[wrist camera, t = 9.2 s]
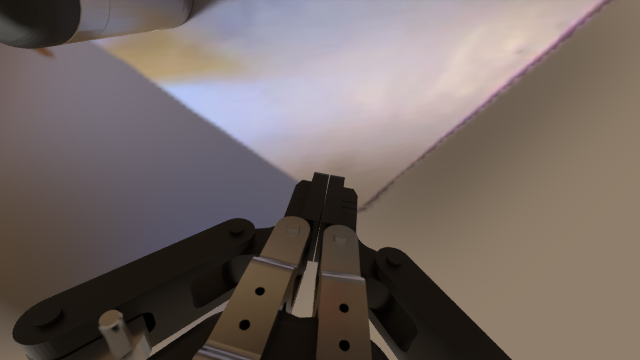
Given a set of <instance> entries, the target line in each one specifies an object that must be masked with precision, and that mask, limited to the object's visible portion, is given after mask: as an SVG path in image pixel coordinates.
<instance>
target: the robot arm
mask: <svg viewBox="0 0 640 360" xmlns="http://www.w3.org/2000/svg"><path fill="white" fill-rule="evenodd" d="M192 4H193V0H0V42H1V43H3V44H6V45H9V46H13V47H18V48H25V49H35V48H44V47H51V46H57V45H63V44H70V43H77V42H84V41H89V40H96V39H102V38H109V37H116V36H122V35H129V34H136V33H142V32H149V31H156V30H163V29H169V28H175V27H177V26H180V25H181V24H182V23H184V22H185V21H186V19H187V18H188V17H189V15H190V12H191V10H192ZM328 179H329V174H323V173H318V172H315V173H314V176H313V179H312V182H311V181H306V180H302V181H300V182H299V183H298V184H297V185H296V186H295V189H294V192H293V194H292V197H291V200H290V203H289V205H288V208H287V211H286V213H285V216H284V218H282V219H280V220H279V221H278V222H277V224H276V226H273V227H270V228H261V229H255V227H254V225H253V223H251V222H250V221H248V220H246V219H241V218H235V219H231V220H227V221H225V222H223V223H221V224H218V225H216V226H214V227H211V228H209V229H207V230H204V231H202V232H200V233H198V234H195V235H193V236H191V237H188V238H186V239H184V240H181V241H179V242H177V243H174V244H172V245H170V246H168V247H165V248H163V249H161V250H158V251H156V252H154V253H151V254H149V255H147V256H144V257H142V258H140V259H138V260H135V261H133V262H131V263H128V264H126V265H124V266H121V267H119V268H117V269H115V270H112V271H110V272H108V273H105V274H103V275H101V276H98V277H96V278H94V279H91V280H89V281H87V282H85V283H82V284H80V285H78V286H75V287H73V288H71V289H68V290H66V291H64V292H61V293H59V294H57V295H55V296H52V297H50V298H48V299H45V300H43V301H41V302H39V303H37V304H36V305H34V306H33V307H31V308H30V309H29V310H27V311H26V312H25V313H24V314H23V315H22V316H21V317H20V318H19V319H18V321H17V322H16V324H15V326H14V328H13V333H12V334H13V338H14V340H15V341H16V342H17V343H18V345H19V346H20V347H21V348H22V349H23V350H24V351H25V353H26V356H27V358H28V359H29V360H389V359H388V358H387V356H386V355H385V354H384V352H383V351H382V350H381V349H380V348H379V347H378V346H377V345H376V344H375V343H374V342H373V341H372V340H370V329H369V319H370V321H371V322H372V324H373V325H374V326H375V328H376V329H377V331H378V332H379V333H380V335H381V336H382V338H383V339H384V340H385V342H386V343H387V345H388V346H389V347H390V349H391V350H392V351H393V353H394V354H395V356H396V357H397V359H398V360H512V359H511V358H509V356H507V354H506V353H505V352H504V351H503V350H501V348H500V347H499V346H497V344H496V343H495V342H493V340H492V339H490V337H489V336H487V335H486V333H485V332H483V331H482V329H481V328H480V327H478V326H477V324H476V323H475V322H473V321H472V320H471V318H469V316H467V315H466V313H465V312H463V310H461V309H460V308H459V307H458V306H457V305H456V304H455V303H454V302H453V301H452V300H451V299H450V298H449V297H448V296H447V295H446V294H445V293H444V292H443V291H442V290H441V289H440V288H439V287H438V286H437V285H436V284H435V283H434V282H433V281H432V280H431V279H430V278H429V277H428V276H427V275H426V274H425V273H424V272H423V271H422V270H421V269H420V268H419V267H418V266H417V265H416V264H415V263H414V262H413V261H412V260H411V259H410V258H409V257H408V256H407V255H406V254H405V253H404V252H402V251H401V250H399V249H396V248H391V247H385V248H382V249H380V250H378V252H377V251H375V250H373V249H371V248H368V247H367V246H365V245H364V244H362V243H361V241H360V240H359V239H358V237H357V234H356V221H357V220H356V219H357V198H358V196H357V194H356V192H355V191H354V189H350V188H345V187H344V180H345V177H340V176H335V175H330V179H329V184H328ZM327 184H328V189H327ZM326 190H327V194H326ZM325 196H326V199H325ZM324 202H325V203H324ZM319 227H320V229H319ZM318 232H319V235H318ZM317 237H318V242H317V247H316V241H317ZM315 247H316V254H315V259H314V262H318V267H317V274H316V279H315V290H314V302H313V312H312V317H308V318H307V317H305V318H299V317H296V316H294V315H292V314H291V313H292V310H293V307H294V304H295V300H296V297H297V294H298V291H299V288H300V285H301V282H302V279H303V275H304V271H305V270H306V266H307V261H313V257H314V252H315ZM229 299H230V300H229ZM227 300H229V302H228V303H227V305H226V307H225V309H224V311H222V312H219V313H217V314H214V315H212V316H210V317H208V318H207V319H205V320H204V321H202V322H201V323H199V324H198V325H196V326H195V327H193V328H192V329H190V330H189V331H187V332H186V333H185V334H183V335H181V336H180V337H179V338H177V339H176V340H174V341H173V342H171V343H170V344H168V345H167V346H165V347H164V348H163V349H161V350H159V351H158V352H156V353H155V354H153V355H152V356H151V357H149V355H150V353H151V350H152V347H154V346H155V345H157V344H158V343H160V342H162V341H163V340H165V339H166V338H168V337H170V336H171V335H173V334H174V333H176V332H177V331H179V330H181V329H182V328H184V327H186V326H187V325H189V324H190V323H192V322H193V321H195V320H197V319H198V318H200V317H201V316H203V315H205V314H206V313H208V312H210V311H211V310H213V309H214V308H216V307H217V306H219V305H221V304H222V303H224V302H226V301H227ZM148 357H149V358H148Z"/></svg>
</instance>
